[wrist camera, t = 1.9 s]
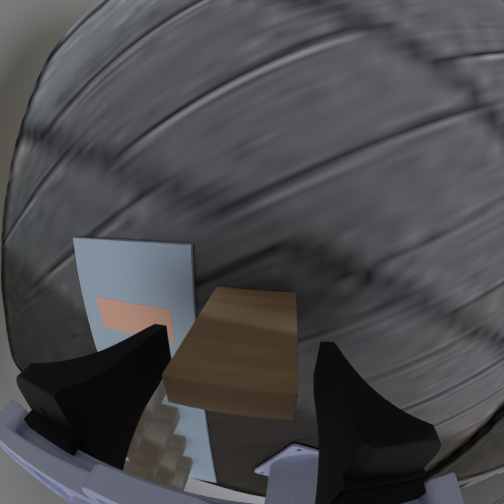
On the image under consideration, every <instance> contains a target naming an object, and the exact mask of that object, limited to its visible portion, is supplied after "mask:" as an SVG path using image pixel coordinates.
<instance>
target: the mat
mask: <svg viewBox="0 0 504 504" xmlns="http://www.w3.org/2000/svg"><path fill="white" fill-rule="evenodd" d="M73 240H74V248H75V255H76V262H77V268H78V274H79V279H80V285H81V290H82V294H83V299H84V303H85V308H86V312H87V316H88V320H89V324H90V328H91V331H92V335H93V338H94V342H95V345H96V348H97V351H98V352H99V351H101V350H104V349H106V348H108V347H110V346H113V345H115V344H117V343H119V342H121V341H123V340H125V339H127V338H129V337H131V336H132V335H134V334H136V333H138V332H140V331H142V330H143V329H145V328H147V327H149V326H151V325H153V324H160V325H166V326H167V333H168V340H169V346H170V352H171V359H172V357H173V356H174V354H175V353H176V351H177V349H178V348H179V346H180V344H181V343H182V341H183V340H184V338H185V336H186V335H187V333H188V332H189V330H190V328H191V327H192V325H193V323H194V322H195V320H196V319H197V317H196V302H195V284H194V260H193V244H191V243H175V242H159V241H142V240H125V239H108V238H91V237H74V238H73ZM161 404H164V405H168V406H172V407H177V408H178V409H179V414H180V420H179V423H178V425H177V427H176V429H175V432H174V434H177V435H181V436H185V437H186V441H187V446H186V449H185V452H184V454H183V456H186V457H190V458H192V462H193V465H192V468H191V471H190V474H189V477H191V478H196V479H200V480H205V481H210V482H215V483H216V482H217V478H216V473H215V467H214V461H213V455H212V449H211V443H210V437H209V430H208V423H207V416H206V410H203V409H198V408H193V407H188V406H183V405H179V404H175V403H170V402H168V399H167V395H166V396H165V398H164V399H163V401H162V403H161Z"/></svg>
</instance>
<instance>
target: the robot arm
mask: <svg viewBox="0 0 504 504" xmlns="http://www.w3.org/2000/svg"><path fill="white" fill-rule="evenodd" d="M170 361H171V352H170V346H169V340H168V333H167V326H166V325H160V324H153V325H151V326H149V327H147V328H145V329H143V330H142V331H140V332H138V333H136V334H134V335H132V336H131V337H129V338H127V339H125V340H123V341H121V342H119V343H117V344H115V345H113V346H110V347H108V348H106V349H104V350H101V351H99V352H96V353H93V354H90V355H87V356H83V357H79V358H75V359H71V360H66V361H60V362H52V363H31V364H30V365H29V366H28V367H27V368H26V369H24V370H23V371H22V372H21V373H20V374H19V375H18V376H17V384H18V387H19V389H20V391H21V393H22V394H23V396H24V397H25V399H26V401H27V403H28V404H29V406H30V407H31V409H32V411H30V413H28V412H27V411H26V410H25V409H24V408H23V407H22V406H20V405H19V404H18V403H17V402H15V401H14V400H10V401H9V402H8V403H7V404H6V405H5V407H3V409H2V410H1V411H0V445H1V446H2V447H3V448H4V450H5V451H6V452H7V453H8V454H9V455H10V456H11V457H12V458H13V459H14V460H15V461H16V462H17V463H18V464H20V465H21V466H22V467H23V468H24V469H25V470H27V471H28V472H29V473H30V474H32V475H33V476H34V477H35V478H37V479H38V480H39V481H40V482H42V483H43V484H44V485H46V486H47V487H48V488H49V489H51V490H52V491H53V492H55V493H56V494H58V495H59V496H61V497H62V498H63V499H65V500H66V501H68V502H70V504H250V503H242V502H235V501H228V500H222V499H217V498H211V497H206V496H202V495H197V494H193V493H188V492H185V491H181V490H177V489H174V488H170V487H167V486H164V485H160V484H157V483H154V482H151V481H148V480H145V479H143V478H140V477H137V476H135V475H132V474H129V473H127V472H124V471H123V468H124V464H125V461H126V457H127V454H128V450H129V447H130V444H131V441H132V438H133V436H134V433H135V430H136V428H137V425H138V423H139V420H140V418H141V416H142V413H143V411H144V410H145V408H146V406H147V404H148V402H149V401H150V399H151V397H152V396H153V394H154V392H155V391H156V389H157V387H158V386H159V384H160V382H161V381H162V379H163V378H162V374H163V372H164V370H165V369H166V367H167V366H168V364H169V362H170ZM314 400H315V407H316V415H317V423H318V433H319V450H317V449H314V448H310V447H306V446H303V445H299V444H291V445H290V446H288V447H287V448H286V449H284V450H283V451H281V452H280V453H278V454H277V455H275V456H274V457H272V458H271V459H269V460H268V461H266V462H264V463H263V464H261V465H260V466H258V467H256V468H255V470H254V472H256V473H259V474H262V475H266V476H268V484H267V492H266V499H265V504H464V502H463V498H462V495H461V491H460V488H459V485H458V482H457V479H456V475H455V473H450V474H447V475H444V476H441V477H438V478H435V479H432V480H430V481H428V482H426V483H425V484H424V482H423V477H425V475H426V473H425V469H424V467H425V466H426V465H427V464H428V463H429V462H430V461H431V460H432V459H433V458H434V457H435V455H436V454H437V453H438V451H439V450H440V447H441V443H440V440H439V437H438V435H437V432H436V430H435V428H434V426H433V425H432V424H429V423H427V422H425V421H422V420H420V419H418V418H415V417H413V416H411V415H410V414H408V413H406V412H404V411H402V410H401V409H399V408H397V407H396V406H394V405H393V404H391V403H390V402H389V401H387V400H386V399H384V398H383V397H382V396H381V395H379V394H378V393H377V392H376V391H375V390H374V389H373V388H371V387H370V386H369V385H368V384H367V383H366V382H365V381H364V380H363V379H362V378H361V376H360V375H359V374H358V373H357V372H356V371H355V369H354V368H353V367H352V366H351V364H350V363H349V362H348V361H347V359H346V358H345V357H344V355H343V354H342V352H341V351H340V350H339V348H338V347H337V345H336V344H335V343H334V342H320V347H319V352H318V357H317V362H316V366H315V371H314Z"/></svg>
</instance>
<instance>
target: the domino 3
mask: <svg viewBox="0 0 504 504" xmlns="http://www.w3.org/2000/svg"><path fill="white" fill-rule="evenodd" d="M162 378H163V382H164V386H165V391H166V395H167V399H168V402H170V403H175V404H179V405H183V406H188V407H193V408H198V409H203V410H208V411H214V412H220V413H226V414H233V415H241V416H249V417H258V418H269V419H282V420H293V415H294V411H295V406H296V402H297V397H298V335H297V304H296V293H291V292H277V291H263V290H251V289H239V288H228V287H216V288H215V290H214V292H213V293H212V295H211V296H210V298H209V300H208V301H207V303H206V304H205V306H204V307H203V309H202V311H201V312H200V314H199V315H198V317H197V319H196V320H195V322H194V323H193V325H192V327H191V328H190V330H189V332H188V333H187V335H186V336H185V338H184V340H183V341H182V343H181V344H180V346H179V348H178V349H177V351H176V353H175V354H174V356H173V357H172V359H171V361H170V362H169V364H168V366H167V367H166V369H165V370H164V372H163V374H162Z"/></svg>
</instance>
